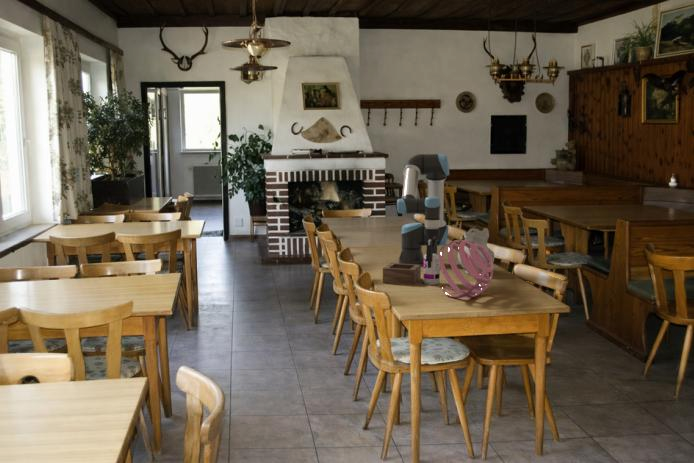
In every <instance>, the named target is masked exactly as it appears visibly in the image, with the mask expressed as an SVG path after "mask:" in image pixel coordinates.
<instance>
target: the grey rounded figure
mask: <svg viewBox="0 0 694 463" xmlns="http://www.w3.org/2000/svg"><path fill="white" fill-rule="evenodd" d="M489 237H490V231H489V229H488V227H483V230H480V229H478V228H474V227H472V228H470V229H468V231H467V232H463V238H464V240H471V241H473V242H475V243H477V244H479V245H481V246H482V247H483V248H485V250H486V251H487V252H488V253H489V255H490V257H491V260H492V263H493V264H494V262H495V252H494V251H493V249H490V247H489V246H488V240H489ZM467 243H469V244H470V245H472V243H470V242H467ZM464 251H465V252H466V253H467V254H468V255H469V256H470V257H471V259H472V260H473V258H472V255H471V251H470V249H469V248H468V247H466V246H464ZM476 251H477V252H478V253H479V254H480V256H481V257H482V259H483V261H484V263H485V261H486V264H487V267H489V265H488V262H487V260H486V258H485V257H484V255H483V254H482V252H481V251H480V250H479V249H478V248H476ZM457 259H458V262H459V263H458V264H460V266H461V267H462V268H463V269H465V271H464V273H465V274H467V275H470V274H469V273H468V271H467V270H466V268H465V267H464V265H463V263H462V261H461V258H460V255H459V252H458V253H457ZM473 262H474V263H475V261H474V260H473ZM475 265H476V267H477V269H478V271H479V273H480V275H481V274H482V270H481V269H480V268H479V267H478V266H477V264H476V263H475Z"/></svg>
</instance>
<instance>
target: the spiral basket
mask: <svg viewBox="0 0 694 463" xmlns="http://www.w3.org/2000/svg"><path fill="white" fill-rule="evenodd" d="M467 242H470V243H472V245H470V244H469V243H467ZM455 243H459V244H458V245H456V244H455ZM464 246H466V247H468V248H469V249H470V251H471V255H472V258H473V260H474V261H475V263H476V264H477V266H478V267H479V268H480V269H481V270H482V274H481V275H480V273H479V271H478V269H477V267H476V265H475V263H474V262H473V260H472V259H471V257H470V256H469V255H468V254H467V253H466V252H465V251H464ZM445 248H447V258H448V263H449V265H450V268H451V270H452V272H453V273H454V275H455V276H456V278H457V279H458V281H460V282H461V284H462V285H463V286H464V287H466V288H467V289H466V290H465V289H461V288H460V287H459V286H457V284H456V283H455V282H454V280H453V279H452V277H451V276H450V274H449V272H448V270H447V268H446V265H445V262H444V257H443V256H444V250H445ZM476 248H478V249H479V250H480V251H481V252H482V254H483V255H484V257H485V258H486V260H487V262H488V265H489V267H487V264H486V261H485V263H484V261H483V259H482V257H481V256H480V254H479V253H478V252H477V251H476ZM453 250H454V251H456V252H458V253H459V255H460V258H461V261H462V263H463V265H464V267H465V268H466V269H465V268H464V269H465V271H466V270H467V271H468V273H469V274H468V275H470V276H471V277H472V278H473V279H474V280H475V281H476V282H475V283H474V284H472V283H471V282H469V281H468V280H467V279H466V278H465V277H464V274H462V272H461V271H460V269H459V267H458V265H457V262H456V261H455V256H454V253H453ZM438 254H439V264H440V271H441V272H442V274H443V276H444V279H445V280H446V282H447V283H448V285H450V286H448V285H445V288H446V289H448V290H450V291H453V292H456V293H457V294H458V295H453V294H450V293H448V292H447V291H446V290H445V288H444V287H443V286H442V287H441V289H442V292H443V293H444V294H445V295H446V296H448V297H449V298H453V299H462V298H464V299H465V298H467V299H473V298H476V297H478V296H479V295H480V294H481V293H483V292H485V291H486V290H487V288H488V287H489V285H490V283H491V282H492V278H493V276H494V265H493V264H494V262H493V263H492V260H491V257H490V255H489V253H488V252H487V251H486V250H485V248H483V247H482V246H481V245H479V244H477V243H475V242H473V241H471V240H465V239H456V240H453V241H450V243H446V245H444V246H441V248H440V249H439V252H438ZM489 273H490V274H489ZM474 293H475V294H474ZM471 294H474V295H471Z"/></svg>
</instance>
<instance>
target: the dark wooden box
mask: <svg viewBox="0 0 694 463" xmlns="http://www.w3.org/2000/svg"><path fill="white" fill-rule="evenodd" d="M421 269H422V265H419V264H401V263H398V262H390V263H389V264H387V265H386V266H384V267H383V268H382V284H393V285H394V284H395V285H396V284H397V285H410V286H413V285H415V284H416V283H418V282H419V281H420V280H421V279H422V278H421V277H422V276H421V271H422V270H421Z"/></svg>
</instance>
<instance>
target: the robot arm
mask: <svg viewBox="0 0 694 463" xmlns="http://www.w3.org/2000/svg"><path fill="white" fill-rule="evenodd" d="M449 166H450V164H449V158H448V156H447V155H446V154H444V153H443V154H442V153H418V154H415V155H413V156H411V157H410V158H409V159H408V160H407V161H406V162H405V163H404V166H403V168H402V175H403V185H402V195H401V198H397V200H396V210H397V213H398V214H404V215H406V214H410V215H411V214H412V215H413V214H419V215H420V214H423V215H424V221H423V223H424V224H423V223H422V222H410V223H407V224H403V225H402V227H401V232H400V234H401V251H400V254H399V257H398V260H397V261H398V262H397V263H401V264H419V265H421V266H422V265H423V266H424V256H425V255H424V253H423V251H422V250H423V246H424V247H426V251H425V252H426V253H425V254H426V260H425V261H427V274H433V261H432V257H433V253H436V254H438V247H443V246H444V245H446V244H447V241H448V235H449V225H447V222H446V221H445V220H444V208H445V207H444V205H445V204H444V202H445V201H444V197H445V194H444V191H445V186H444V185H445V181H446V179H447V177H448V176H450V167H449ZM420 176H425V180H427V182H428V184H427V186H428V187H427V188H428V190H427V191H428V194H427V196H426V197H425V198H417V194H418V184H419V178H420Z"/></svg>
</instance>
